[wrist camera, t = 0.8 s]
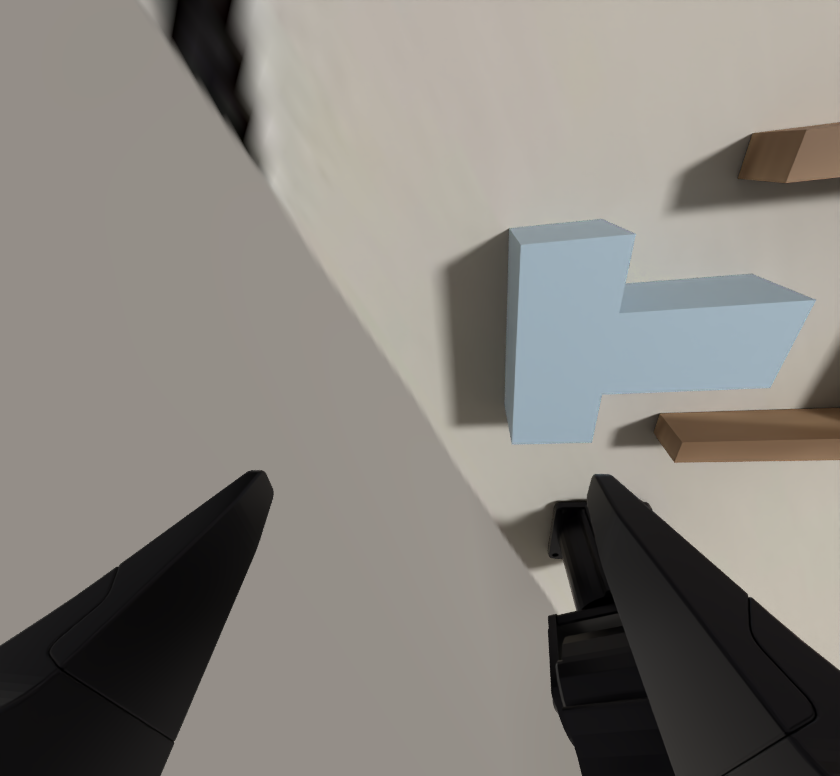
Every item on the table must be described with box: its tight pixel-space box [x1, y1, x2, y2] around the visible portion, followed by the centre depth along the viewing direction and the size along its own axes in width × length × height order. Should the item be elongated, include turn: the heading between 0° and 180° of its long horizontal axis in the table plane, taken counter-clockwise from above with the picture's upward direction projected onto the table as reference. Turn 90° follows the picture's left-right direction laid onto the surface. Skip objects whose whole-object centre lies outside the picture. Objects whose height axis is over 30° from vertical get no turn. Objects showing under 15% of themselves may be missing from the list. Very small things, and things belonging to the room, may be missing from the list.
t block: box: [504, 219, 816, 444], centre depth 17 cm, size 10×11×4 cm
